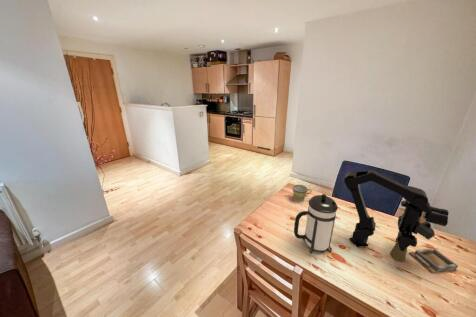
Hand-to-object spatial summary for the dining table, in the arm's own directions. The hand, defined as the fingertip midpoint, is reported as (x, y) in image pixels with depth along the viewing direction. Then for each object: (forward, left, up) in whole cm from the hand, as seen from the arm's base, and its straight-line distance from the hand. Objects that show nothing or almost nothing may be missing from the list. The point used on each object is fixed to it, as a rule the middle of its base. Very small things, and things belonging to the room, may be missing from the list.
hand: (401, 244), depth 92 cm
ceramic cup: (-25, +54, -8) cm, 60 cm away
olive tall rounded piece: (0, 0, -8) cm, 8 cm away
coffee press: (-36, +12, -8) cm, 39 cm away
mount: (+13, -5, -8) cm, 16 cm away
